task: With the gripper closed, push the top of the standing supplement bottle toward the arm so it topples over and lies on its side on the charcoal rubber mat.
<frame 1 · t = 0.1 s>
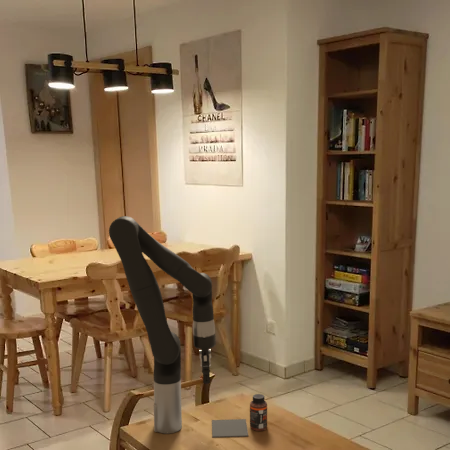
hand: (206, 378, 192), 17 cm above the table, tool pointing down, fingers open, 8 cm apart
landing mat: (229, 428, 192), on the table
supplement bottle: (258, 428, 193), on the table
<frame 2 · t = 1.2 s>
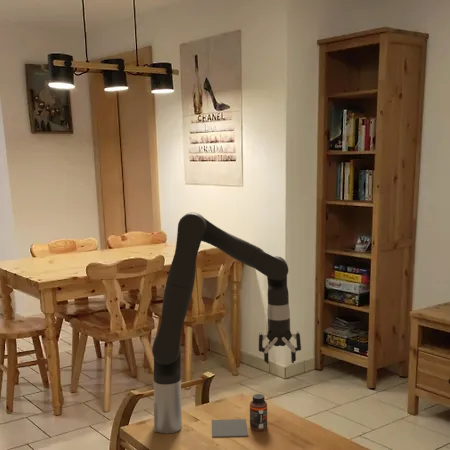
hand: (280, 362, 191), 23 cm above the table, tool pointing down, fingers open, 8 cm apart
nothing on the table moved.
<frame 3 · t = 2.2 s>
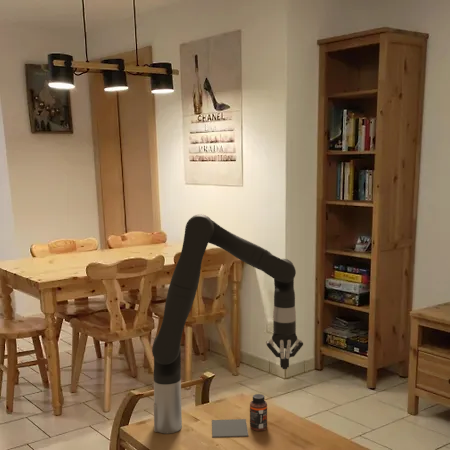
hand: (284, 368, 191), 21 cm above the table, tool pointing down, fingers closed
nothing on the table moved.
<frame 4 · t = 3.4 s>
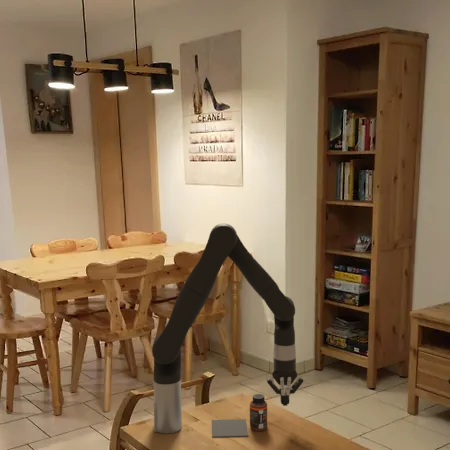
hand: (285, 404, 192), 8 cm above the table, tool pointing down, fingers closed
nothing on the table moved.
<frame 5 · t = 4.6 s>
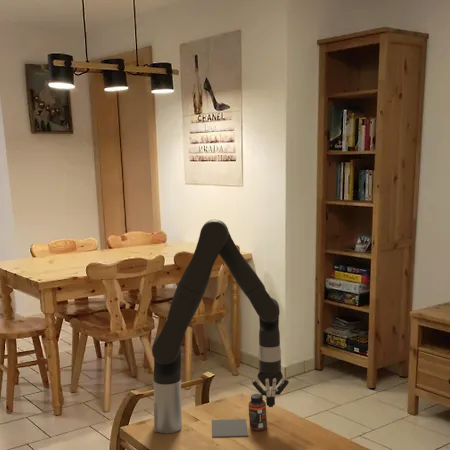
hand: (270, 406, 192), 8 cm above the table, tool pointing down, fingers closed
supplement bottle: (258, 427, 193), on the table, touching gripper
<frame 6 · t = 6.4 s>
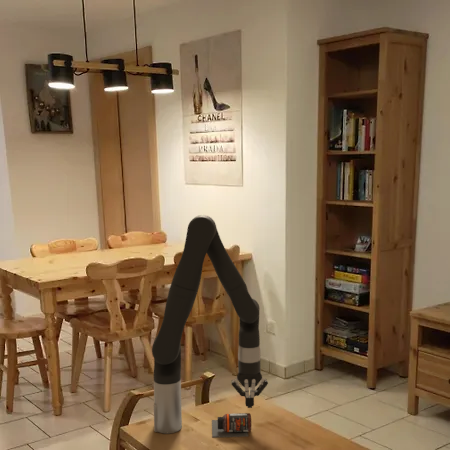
hand: (249, 407, 192), 8 cm above the table, tool pointing down, fingers closed
supplement bottle: (251, 422, 189), point 3 cm above the table, touching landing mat
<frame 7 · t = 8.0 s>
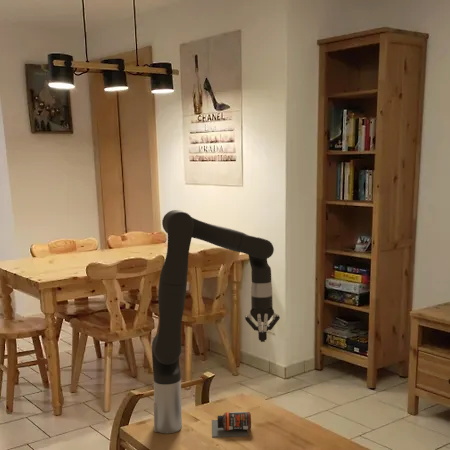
hand: (262, 341, 201), 27 cm above the table, tool pointing down, fingers closed
supplement bottle: (251, 420, 190), point 3 cm above the table, touching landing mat
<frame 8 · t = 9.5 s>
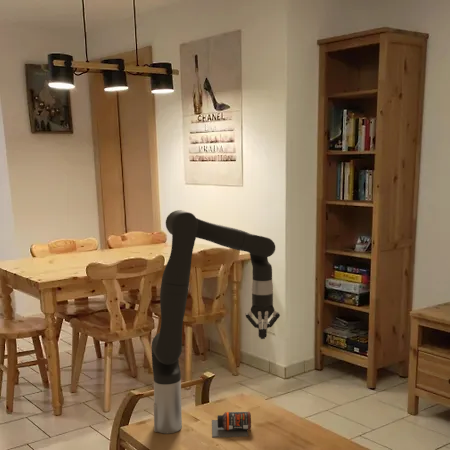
hand: (262, 338, 204), 27 cm above the table, tool pointing down, fingers closed
nothing on the table moved.
at the end: supplement bottle tilted 90°; supplement bottle inside the target area (3.7 cm from its centre), point 3.4 cm above the table; supplement bottle touching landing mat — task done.
